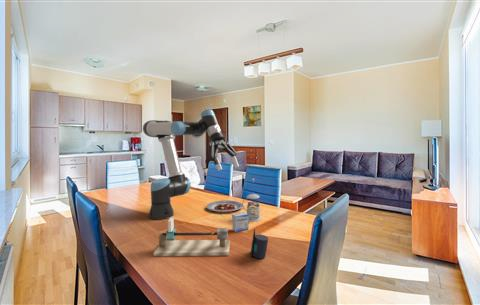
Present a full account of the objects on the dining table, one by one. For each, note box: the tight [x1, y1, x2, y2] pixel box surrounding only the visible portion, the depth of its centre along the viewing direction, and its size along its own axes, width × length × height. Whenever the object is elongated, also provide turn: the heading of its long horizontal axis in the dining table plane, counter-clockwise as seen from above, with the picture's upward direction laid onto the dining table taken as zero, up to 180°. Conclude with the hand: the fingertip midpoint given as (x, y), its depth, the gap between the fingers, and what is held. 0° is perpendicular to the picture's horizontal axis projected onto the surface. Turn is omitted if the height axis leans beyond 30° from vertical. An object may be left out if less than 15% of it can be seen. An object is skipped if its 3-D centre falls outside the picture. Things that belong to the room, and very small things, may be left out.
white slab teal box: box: [165, 216, 177, 241], centre depth 107 cm, size 3×4×9 cm
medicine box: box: [231, 212, 250, 233], centre depth 129 cm, size 8×4×9 cm, turn 117°
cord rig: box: [153, 227, 231, 257], centre depth 108 cm, size 32×12×9 cm, turn 90°
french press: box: [241, 178, 262, 222], centre depth 146 cm, size 10×12×25 cm
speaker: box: [250, 228, 269, 260], centre depth 101 cm, size 8×6×10 cm
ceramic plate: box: [206, 199, 244, 213], centre depth 169 cm, size 26×26×3 cm
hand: (229, 168), depth 131 cm, fingers open, 13 cm apart
